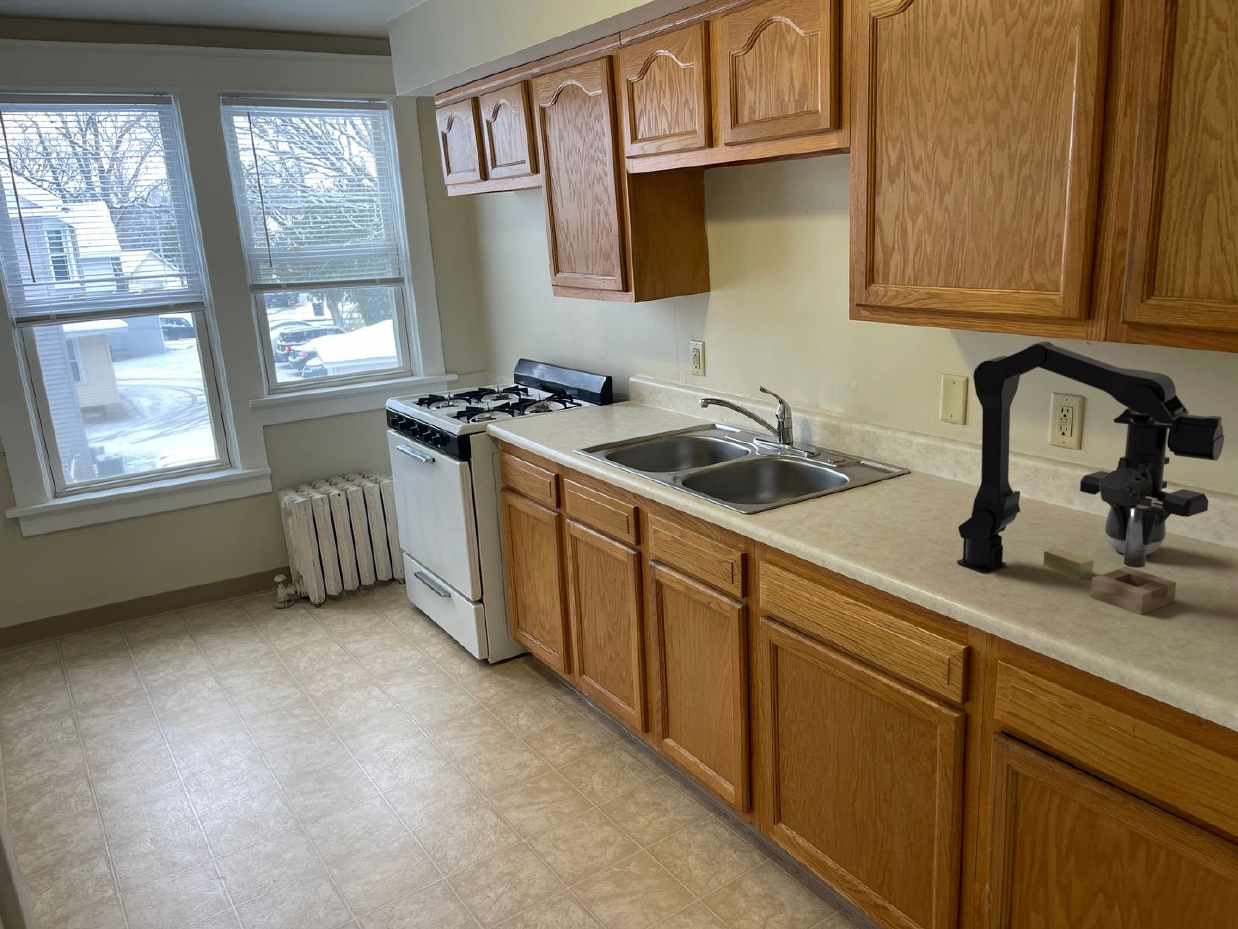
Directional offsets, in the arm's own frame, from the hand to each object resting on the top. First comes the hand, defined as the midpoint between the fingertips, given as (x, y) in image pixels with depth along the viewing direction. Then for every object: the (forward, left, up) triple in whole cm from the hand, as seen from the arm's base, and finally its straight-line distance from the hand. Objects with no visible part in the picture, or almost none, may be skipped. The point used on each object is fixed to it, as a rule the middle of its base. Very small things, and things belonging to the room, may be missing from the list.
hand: (1136, 541), depth 153 cm
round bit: (0, 0, -4) cm, 4 cm away
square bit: (-14, +3, -11) cm, 18 cm away
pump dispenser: (-13, +21, -11) cm, 27 cm away
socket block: (0, 0, -10) cm, 10 cm away
